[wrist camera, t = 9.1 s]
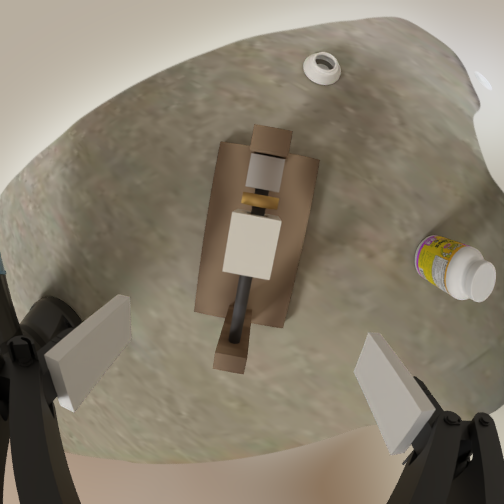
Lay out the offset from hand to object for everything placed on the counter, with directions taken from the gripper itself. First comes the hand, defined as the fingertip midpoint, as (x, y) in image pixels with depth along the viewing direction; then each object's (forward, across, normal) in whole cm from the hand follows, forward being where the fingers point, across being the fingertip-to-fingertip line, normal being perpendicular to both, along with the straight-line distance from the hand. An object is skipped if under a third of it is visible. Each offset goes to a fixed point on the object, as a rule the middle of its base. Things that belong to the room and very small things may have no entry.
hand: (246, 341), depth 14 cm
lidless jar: (+22, -5, -26) cm, 34 cm away
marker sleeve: (+14, 0, -3) cm, 14 cm away
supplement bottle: (+22, -26, -3) cm, 34 cm away
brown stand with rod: (+22, 0, -2) cm, 22 cm away
